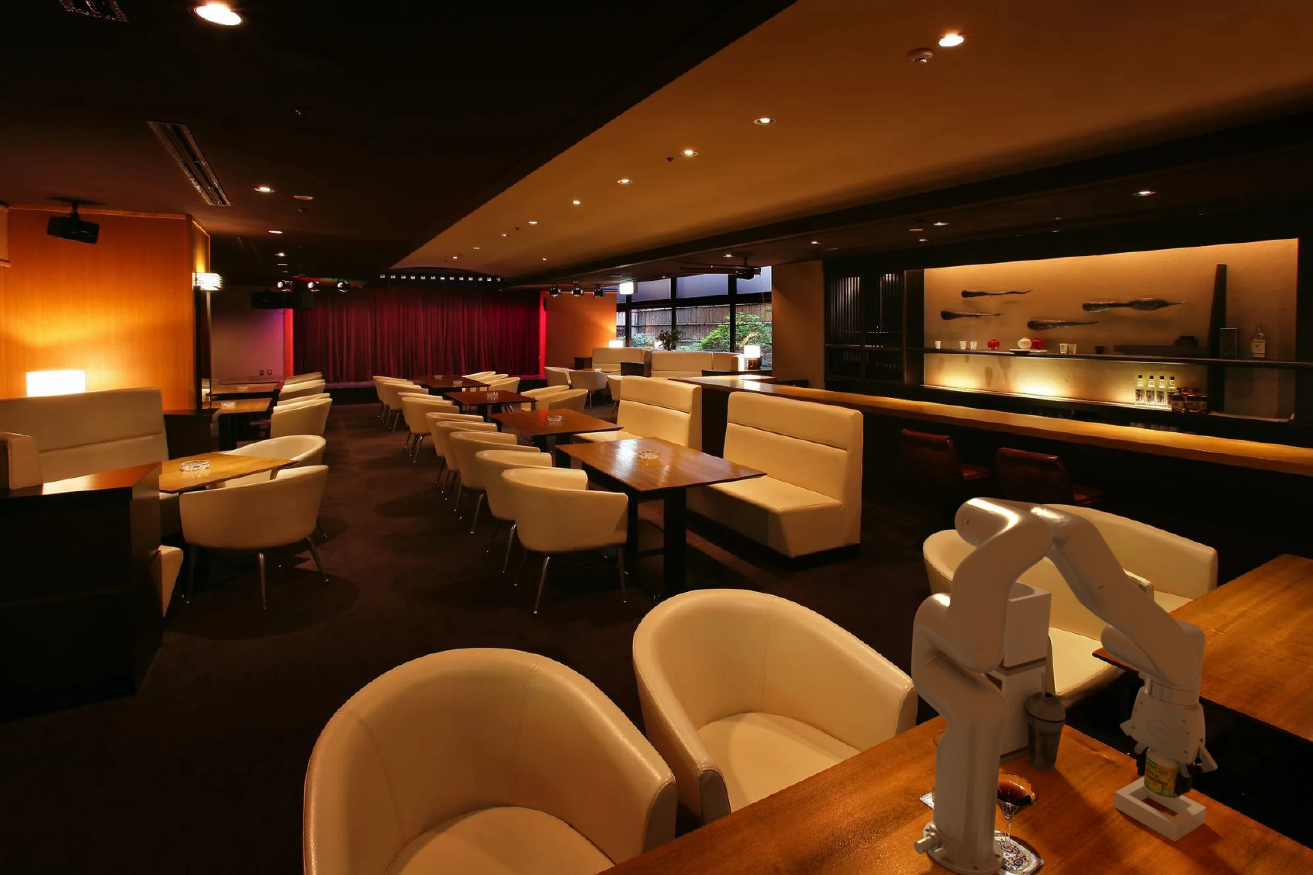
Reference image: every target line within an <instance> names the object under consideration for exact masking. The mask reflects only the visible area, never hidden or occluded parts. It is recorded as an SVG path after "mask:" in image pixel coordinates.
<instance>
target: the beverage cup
mask: <svg viewBox="0 0 1313 875" xmlns="http://www.w3.org/2000/svg"><path fill="white" fill-rule="evenodd" d="M1041 679H1042V692H1037V693H1035V694H1033V695H1032V696H1031V697H1030V698H1029V699H1028V701H1027V704H1026V706H1025V710H1026V717H1027V723H1028V755H1027V756H1028V764H1029V765H1030V766H1031V767H1032V768H1033V769H1035V770H1037V771H1040V772H1043V773H1050V772H1054V769H1055V765H1056V763H1057V762H1056V761H1057V759H1058V758H1057V756H1058V751H1059V746H1060V740H1061V736H1062V732H1063V728H1064V726H1065V724H1066V723H1065V722H1066V720H1067V715H1066V709H1065V706H1064V704H1063V702H1062V701H1061V700H1060V699H1059V697H1057V696H1056V695H1055V694H1053V693H1051V692H1048V691H1045V690H1046V687H1045V686H1046V685H1045V682H1044V673H1041Z"/></svg>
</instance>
